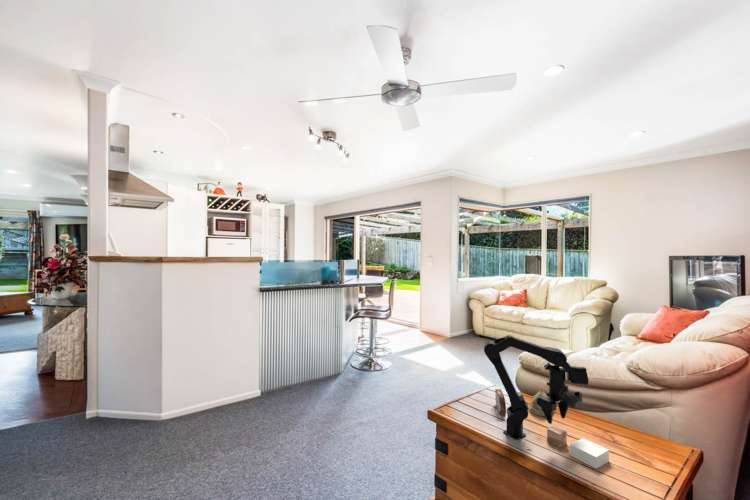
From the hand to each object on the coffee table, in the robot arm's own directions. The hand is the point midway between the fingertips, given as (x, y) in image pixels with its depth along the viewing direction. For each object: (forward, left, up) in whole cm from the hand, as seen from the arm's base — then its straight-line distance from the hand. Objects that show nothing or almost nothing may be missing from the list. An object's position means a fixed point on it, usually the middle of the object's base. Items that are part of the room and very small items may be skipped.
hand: (556, 420), depth 130 cm
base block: (0, -12, -8) cm, 15 cm away
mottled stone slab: (+4, +30, -9) cm, 31 cm away
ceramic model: (+21, +20, -9) cm, 30 cm away
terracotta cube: (0, 0, -9) cm, 9 cm away
